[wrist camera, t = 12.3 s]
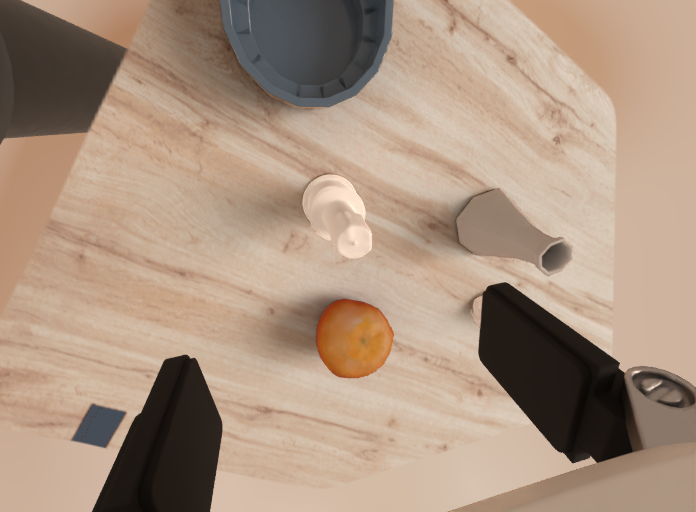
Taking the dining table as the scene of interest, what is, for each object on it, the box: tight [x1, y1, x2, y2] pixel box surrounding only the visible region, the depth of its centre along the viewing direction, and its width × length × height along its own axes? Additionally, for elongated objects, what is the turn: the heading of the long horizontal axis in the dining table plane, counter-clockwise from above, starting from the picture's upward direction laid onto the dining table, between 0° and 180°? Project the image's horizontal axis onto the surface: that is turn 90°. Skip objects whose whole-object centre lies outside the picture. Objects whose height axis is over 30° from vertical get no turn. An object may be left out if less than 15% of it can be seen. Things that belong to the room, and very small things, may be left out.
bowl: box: [220, 0, 394, 109], centre depth 23 cm, size 11×11×5 cm
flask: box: [456, 188, 573, 276], centre depth 31 cm, size 7×7×10 cm
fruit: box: [316, 299, 394, 378], centre depth 34 cm, size 8×8×8 cm
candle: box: [302, 174, 372, 259], centre depth 26 cm, size 5×5×12 cm
